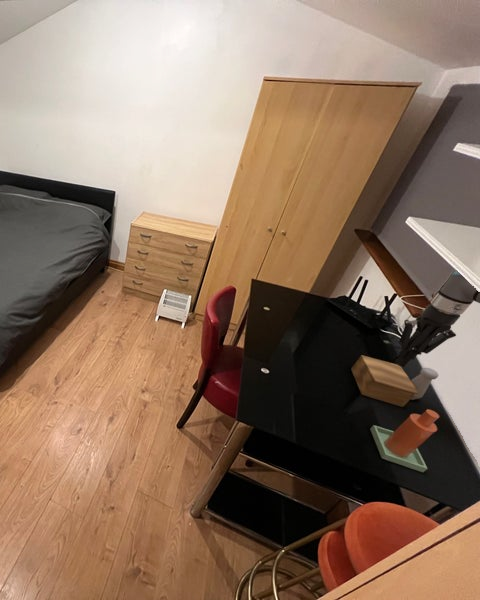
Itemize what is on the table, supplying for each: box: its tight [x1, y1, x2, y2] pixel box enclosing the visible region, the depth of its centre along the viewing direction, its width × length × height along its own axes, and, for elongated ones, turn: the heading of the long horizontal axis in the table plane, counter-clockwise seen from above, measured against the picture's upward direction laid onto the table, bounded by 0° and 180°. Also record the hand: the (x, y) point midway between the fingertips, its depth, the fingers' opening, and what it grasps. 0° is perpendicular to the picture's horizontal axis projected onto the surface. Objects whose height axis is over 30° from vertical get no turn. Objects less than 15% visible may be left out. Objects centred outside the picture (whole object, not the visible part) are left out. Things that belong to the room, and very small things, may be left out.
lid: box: [359, 354, 419, 394], centre depth 118 cm, size 15×13×1 cm
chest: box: [350, 356, 415, 408], centre depth 120 cm, size 15×13×7 cm
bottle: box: [384, 409, 440, 457], centre depth 95 cm, size 6×6×17 cm
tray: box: [369, 424, 428, 473], centre depth 100 cm, size 11×10×2 cm
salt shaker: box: [410, 367, 439, 401], centre depth 116 cm, size 6×6×13 cm
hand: (399, 364), depth 113 cm, fingers closed
